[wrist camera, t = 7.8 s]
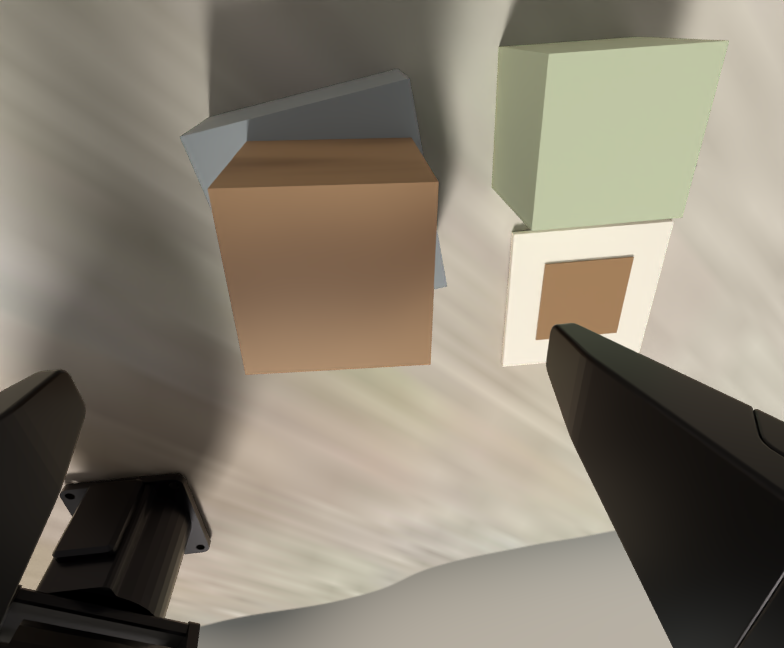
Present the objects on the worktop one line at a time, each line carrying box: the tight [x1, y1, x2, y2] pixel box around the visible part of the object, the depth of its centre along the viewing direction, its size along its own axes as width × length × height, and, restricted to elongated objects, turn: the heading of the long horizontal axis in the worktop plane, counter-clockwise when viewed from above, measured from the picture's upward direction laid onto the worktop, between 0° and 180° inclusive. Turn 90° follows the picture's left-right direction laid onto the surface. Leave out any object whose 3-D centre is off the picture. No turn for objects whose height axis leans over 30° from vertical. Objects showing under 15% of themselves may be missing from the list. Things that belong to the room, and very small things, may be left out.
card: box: [501, 219, 674, 367], centre depth 23 cm, size 7×7×1 cm
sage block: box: [492, 37, 729, 231], centre depth 17 cm, size 5×5×5 cm
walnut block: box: [208, 138, 439, 375], centre depth 14 cm, size 5×5×5 cm
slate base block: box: [180, 69, 447, 289], centre depth 18 cm, size 7×7×4 cm
